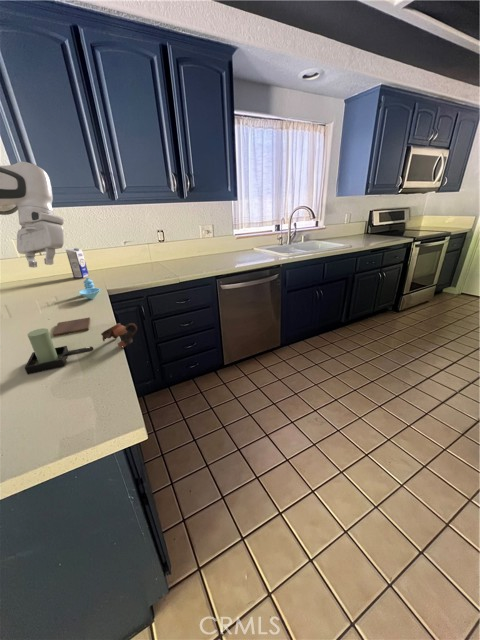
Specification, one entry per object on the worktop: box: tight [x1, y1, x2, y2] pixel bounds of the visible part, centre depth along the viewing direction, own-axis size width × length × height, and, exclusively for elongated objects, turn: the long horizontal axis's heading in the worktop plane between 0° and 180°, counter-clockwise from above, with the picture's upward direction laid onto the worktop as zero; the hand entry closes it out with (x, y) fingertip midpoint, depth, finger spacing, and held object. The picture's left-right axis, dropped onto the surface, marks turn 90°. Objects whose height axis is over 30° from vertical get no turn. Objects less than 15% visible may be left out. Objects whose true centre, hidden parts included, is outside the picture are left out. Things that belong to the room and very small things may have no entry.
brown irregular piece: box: [100, 322, 138, 349], centre depth 96 cm, size 12×10×8 cm
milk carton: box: [65, 247, 90, 279], centre depth 180 cm, size 7×7×20 cm
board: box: [52, 317, 91, 337], centre depth 109 cm, size 12×12×1 cm
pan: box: [24, 345, 95, 375], centre depth 86 cm, size 18×10×3 cm, turn 114°
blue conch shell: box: [78, 277, 101, 300], centre depth 143 cm, size 18×10×9 cm, turn 28°
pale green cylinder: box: [27, 327, 59, 364], centre depth 83 cm, size 5×5×11 cm
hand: (40, 265), depth 83 cm, fingers open, 8 cm apart
